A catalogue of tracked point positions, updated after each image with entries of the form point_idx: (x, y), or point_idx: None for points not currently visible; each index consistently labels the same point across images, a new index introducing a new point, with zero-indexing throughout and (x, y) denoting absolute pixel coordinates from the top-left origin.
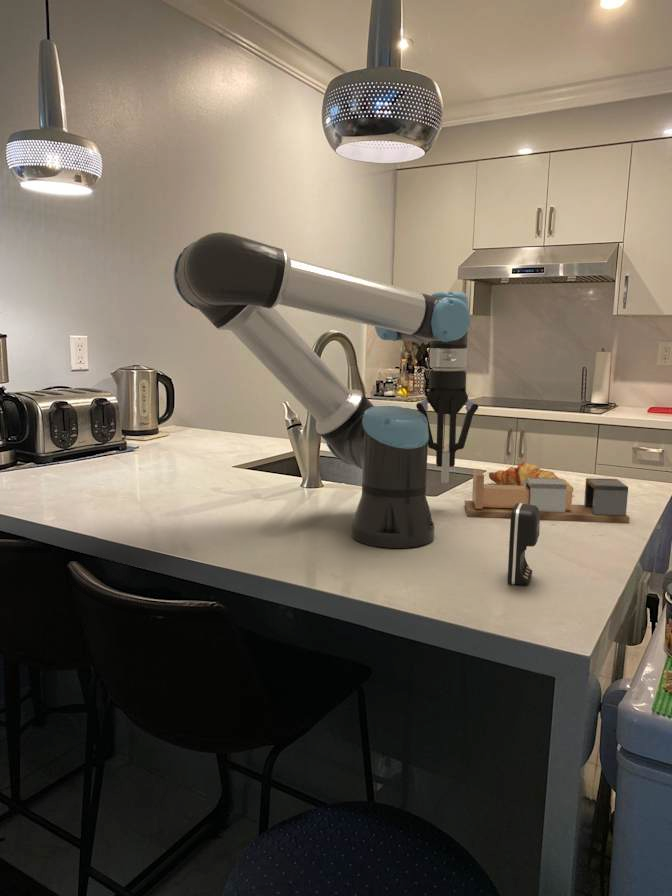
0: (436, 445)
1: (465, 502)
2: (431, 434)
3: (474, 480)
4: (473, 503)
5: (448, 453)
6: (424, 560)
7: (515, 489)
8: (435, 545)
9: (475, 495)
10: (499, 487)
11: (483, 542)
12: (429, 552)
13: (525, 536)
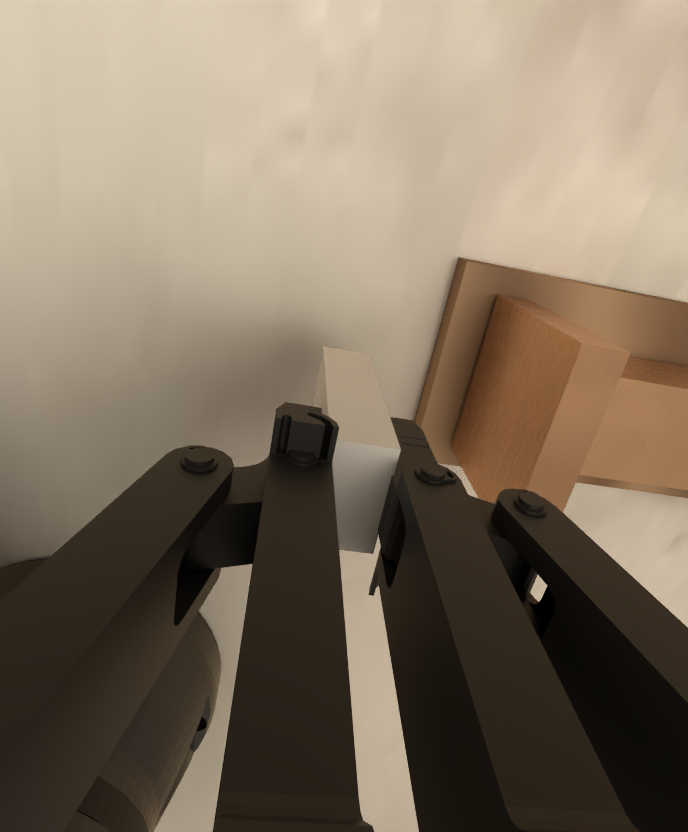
0: (250, 554)
1: (455, 304)
2: (156, 676)
3: (522, 411)
4: (476, 366)
5: (362, 547)
6: (172, 805)
7: (683, 489)
8: (215, 722)
9: (470, 467)
10: (627, 447)
11: (362, 697)
12: (191, 764)
13: None
